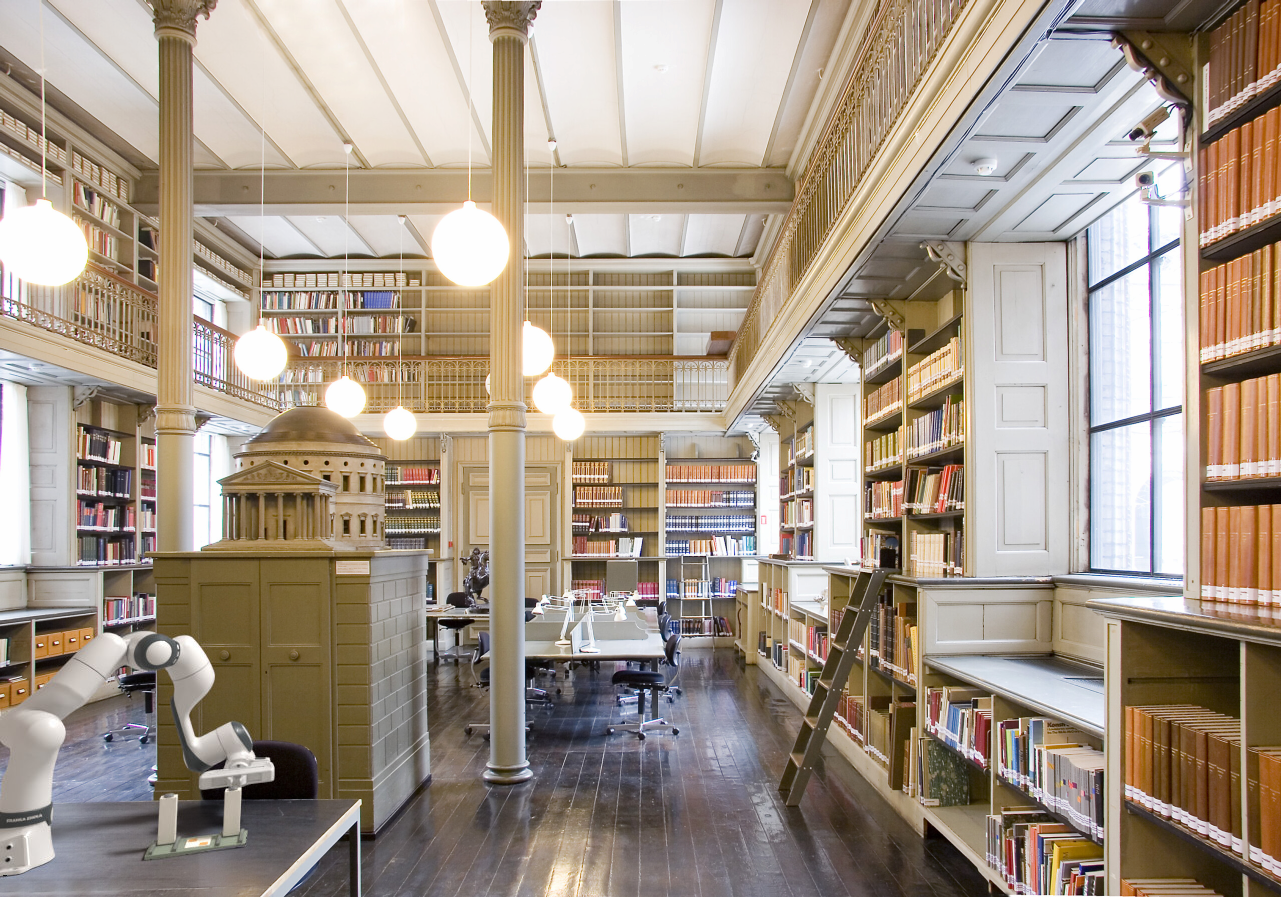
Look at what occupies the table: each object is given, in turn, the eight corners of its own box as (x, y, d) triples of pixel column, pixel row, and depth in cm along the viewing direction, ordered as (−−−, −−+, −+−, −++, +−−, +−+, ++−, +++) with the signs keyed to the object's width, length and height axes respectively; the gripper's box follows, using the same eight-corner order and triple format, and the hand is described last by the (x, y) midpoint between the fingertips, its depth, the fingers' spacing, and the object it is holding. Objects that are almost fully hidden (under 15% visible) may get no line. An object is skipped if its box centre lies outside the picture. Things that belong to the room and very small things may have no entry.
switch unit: (151, 846, 230) (151, 839, 230) (247, 833, 239) (247, 827, 239) (144, 860, 220) (144, 853, 220) (245, 847, 229) (245, 840, 229)
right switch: (223, 833, 236) (225, 786, 237) (239, 831, 237) (241, 785, 239) (223, 836, 233) (225, 789, 234) (238, 834, 234) (240, 788, 236)
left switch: (159, 841, 230) (161, 793, 231) (175, 839, 231) (178, 792, 232) (157, 845, 227) (160, 796, 228) (174, 842, 228) (176, 795, 230)
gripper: (200, 765, 251) (195, 777, 239) (275, 756, 259) (274, 768, 246) (200, 786, 251) (195, 800, 238) (274, 777, 259) (273, 790, 246)
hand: (236, 784), depth 242 cm, fingers closed
